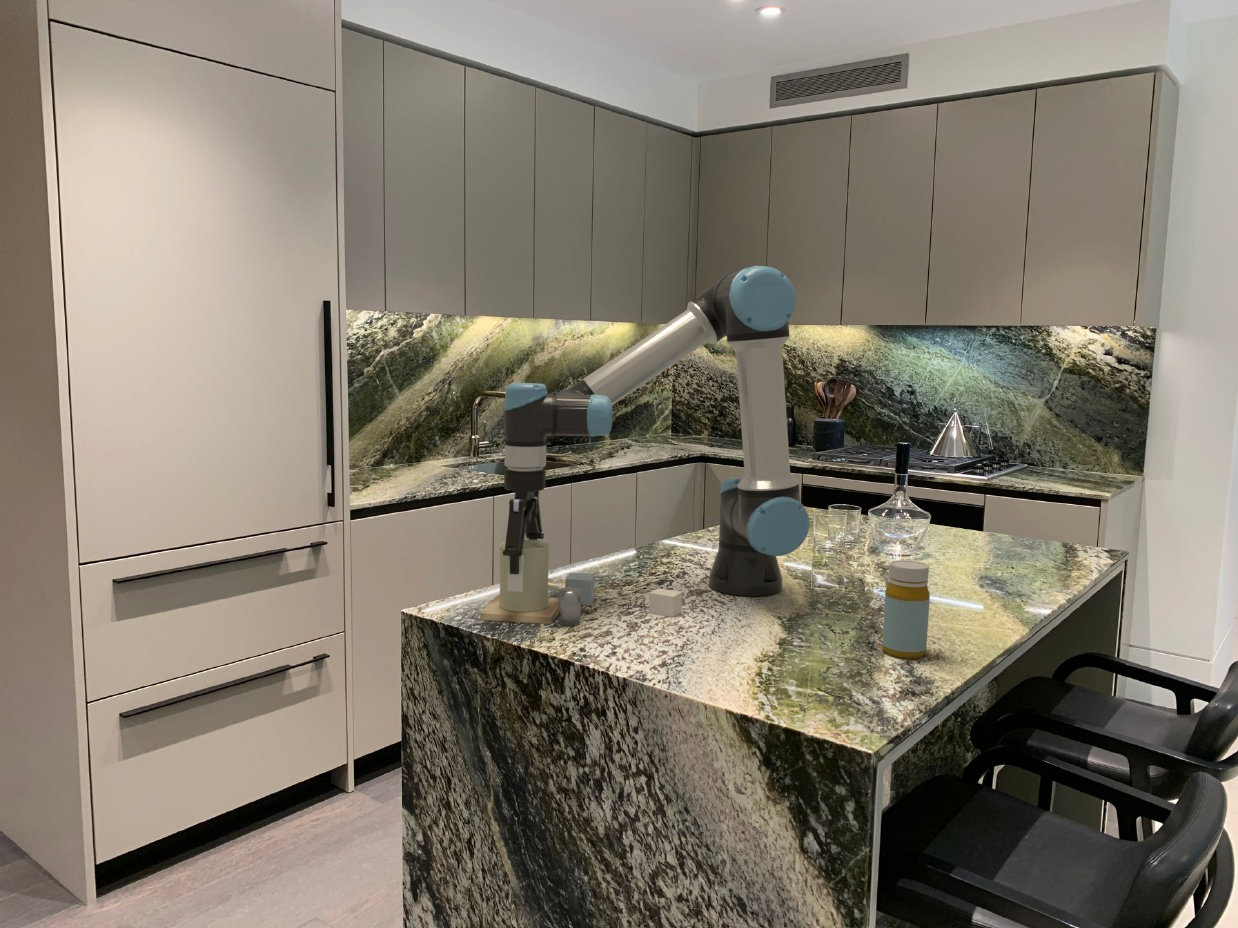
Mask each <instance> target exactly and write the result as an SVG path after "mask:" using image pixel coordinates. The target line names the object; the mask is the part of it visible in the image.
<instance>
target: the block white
mask: <svg viewBox="0 0 1238 928" xmlns="http://www.w3.org/2000/svg"><path fill="white" fill-rule="evenodd" d="M682 609H683V591H679V590H672V589H665V588H659V587H658V588H656V589H654V590H652V591H650V592H649V593H648V614H652V615H656V616H657V615H658V616H664V617H670V618H674V617H676V616H677V615H679V614H681V613H682V612H683V610H682Z"/></svg>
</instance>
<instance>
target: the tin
mask: <svg viewBox="0 0 1238 928" xmlns="http://www.w3.org/2000/svg"><path fill="white" fill-rule="evenodd" d="M557 590H558V595H557V598H558V615H557V624H558V625H560V626H563V627H565V626H566V627H575V626H579V625H580V624H581V606H582V605H581V590H580V589H578V588H573V587H566V588H565V587H560V588H558V589H557Z"/></svg>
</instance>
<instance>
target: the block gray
mask: <svg viewBox="0 0 1238 928" xmlns="http://www.w3.org/2000/svg"><path fill="white" fill-rule="evenodd" d="M595 578H596V575H595V573H582V572H581V573H576V572H569V573H568V575H567V576H566V577H565V579H564V580H565V581H564V588H566V587H573V588H578V589H580V590H581V606H592V604H593V602H594V600H595V586H596V585H595V584H596V581H595V580H596V579H595Z"/></svg>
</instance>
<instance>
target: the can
mask: <svg viewBox="0 0 1238 928" xmlns="http://www.w3.org/2000/svg"><path fill="white" fill-rule="evenodd" d="M537 540H538V539H537ZM537 540H525V539H524V544H523V550H522V555H524V564H523V592H514V591H507V584H508V556H503V551H504V550H505V544H506V541H503V542H501V543H500V544H499V564H500V565H499V595H500V602H499V607H500V608H502V609H504V610H507V611H513V612H534V611H539V610H543V609H545V608H547V607H548V606H549V603H548V598H549V551H550V544H549V543H548V542H545V541H543V540H539V541H537Z"/></svg>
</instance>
